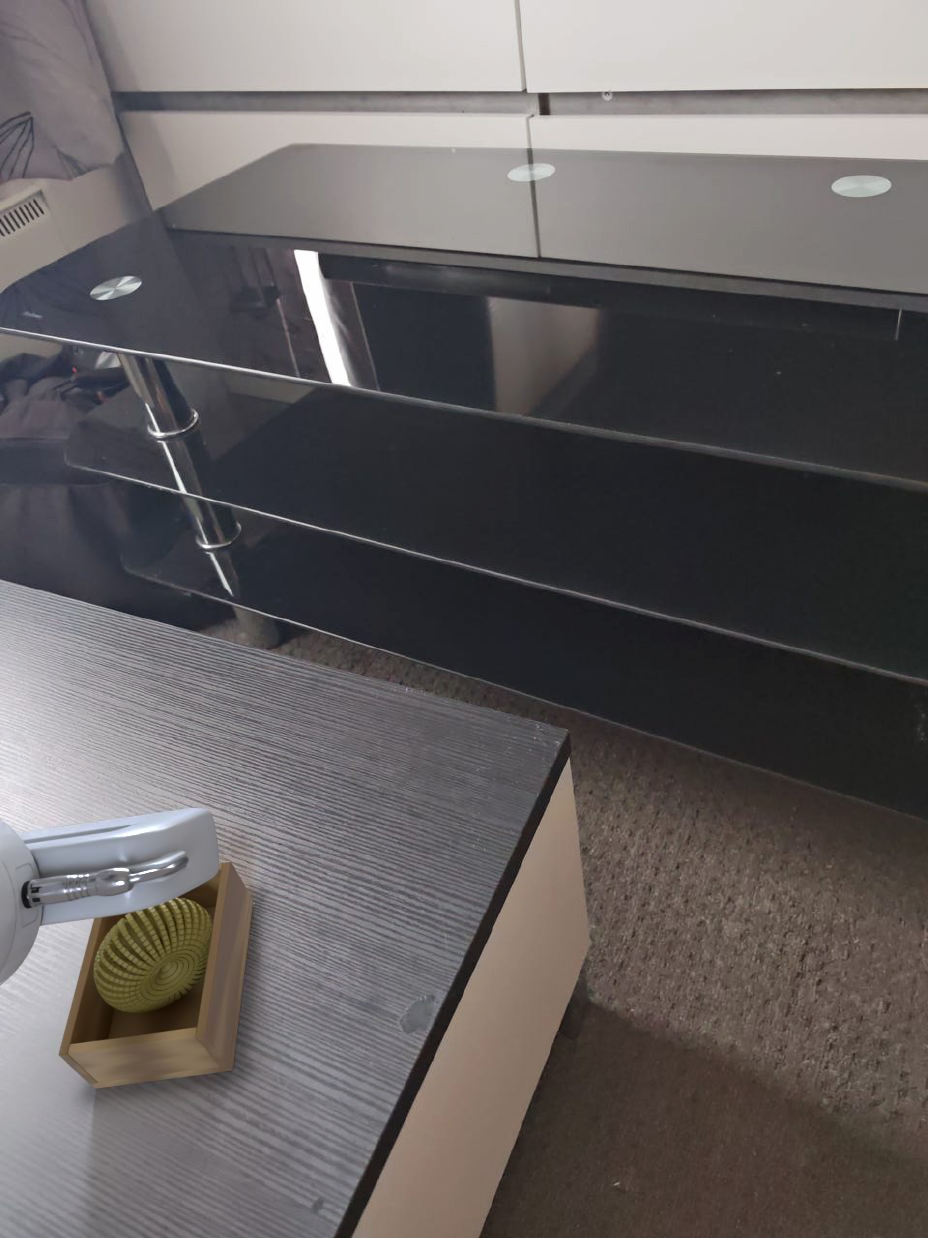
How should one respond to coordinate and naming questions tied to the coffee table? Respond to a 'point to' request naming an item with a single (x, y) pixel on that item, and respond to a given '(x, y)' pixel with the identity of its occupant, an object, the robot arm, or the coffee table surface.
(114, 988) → the sculpture
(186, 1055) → the wooden box
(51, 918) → the robot arm
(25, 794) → the coffee table surface
